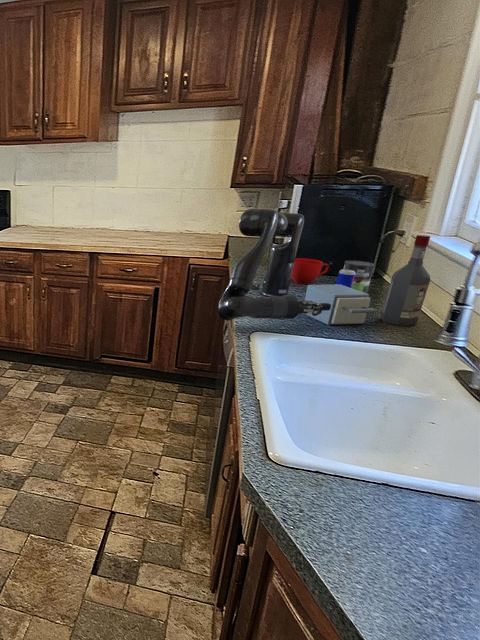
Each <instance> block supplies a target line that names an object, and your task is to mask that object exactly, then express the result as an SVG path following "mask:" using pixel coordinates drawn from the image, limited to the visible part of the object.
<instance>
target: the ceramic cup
mask: <svg viewBox="0 0 480 640" xmlns="http://www.w3.org/2000/svg"><path fill="white" fill-rule="evenodd" d="M323 266H326V268H325V270H324V271H322V269H323ZM329 269H330V265H329V264H328V263H324V262H323V261H322V260H318V259H315V258H314V259H313V258H304V257H303V258H301V257H299V258H297V257H295V261H294V266H293V271H292V275H291V280H292V281H293V283H294V284H299V285H311V284H312V283H313V282H314V281H315V280H317V278H318V277H319V276H322V275H324V274H326V273H327V272H328V270H329ZM321 271H322V272H321Z"/></svg>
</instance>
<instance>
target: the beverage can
mask: <svg viewBox="0 0 480 640" xmlns="http://www.w3.org/2000/svg"><path fill="white" fill-rule="evenodd" d="M354 276H355V271H353V270H346V269H344V268H343V269H340V270H339V271H338V274H337V277H336V282H335V284H341V285H344V286H346V287H349V288H352V284H353V280H354Z"/></svg>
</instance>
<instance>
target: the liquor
mask: <svg viewBox="0 0 480 640" xmlns="http://www.w3.org/2000/svg"><path fill="white" fill-rule="evenodd" d="M430 239H431V236H430V235H425V234H417V235H416V236H415V240H414V243H413V249H412V252H411V255H410V257H409V260H408V261H407V264H405V265H403V266H402V267H400V268H399V269H398V270H396V271H394V273H393V274H392V275H391V278H390V282H389V286H388V289H387V290H388V291H387V293H386V297H385V299H384V302H383V303H384V304H383V307H382V310H381V313H380V319H381V321H382V322H384V323H387V324H390V325H395V326H399V327H400V326H402V327H408V326H414V325H416V324H417V323H418V321H419V317H420V314H421V311H422V307H423V305H424V301H425V299H426V296H427V292H428V290H429V289H428V288H429V285H430V282H431V275H430V274H429V273H428V271H427V270H426V268H425V267H424V258H425V254H426V251H427V247H428V246H429V243H430Z"/></svg>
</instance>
